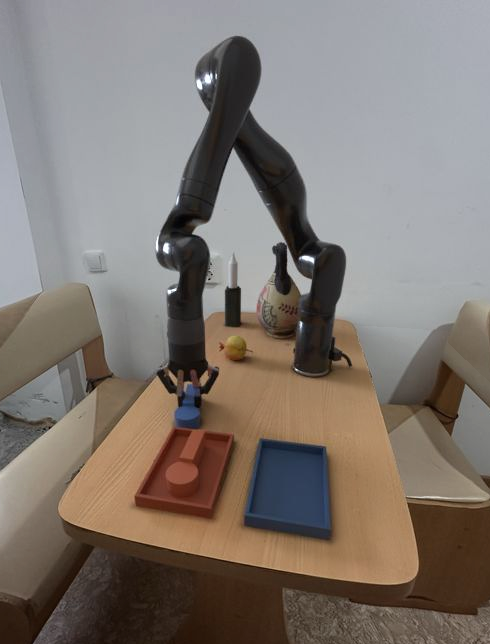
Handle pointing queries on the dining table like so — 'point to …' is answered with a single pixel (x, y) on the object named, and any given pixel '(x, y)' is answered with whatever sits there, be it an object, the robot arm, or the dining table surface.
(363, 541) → the dining table surface
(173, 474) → the terracotta scoop
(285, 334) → the ceramic jug
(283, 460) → the blue tray
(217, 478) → the terracotta tray
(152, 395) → the dining table surface
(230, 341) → the fruit
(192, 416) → the blue scoop
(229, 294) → the candle
